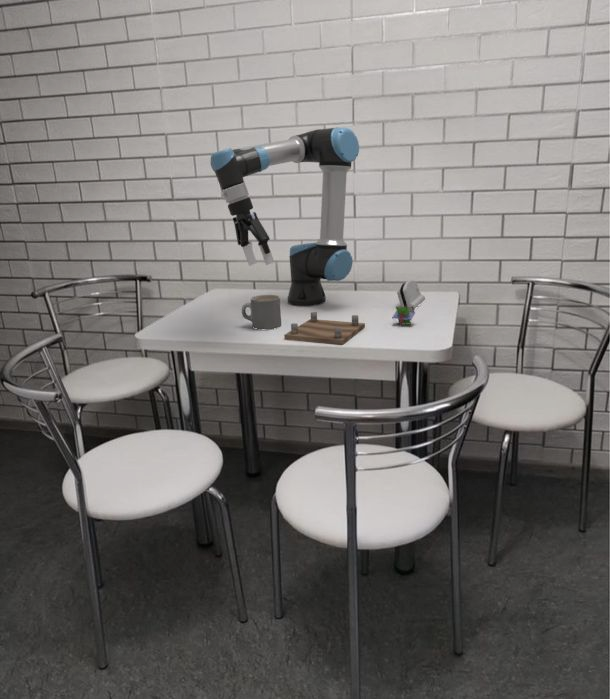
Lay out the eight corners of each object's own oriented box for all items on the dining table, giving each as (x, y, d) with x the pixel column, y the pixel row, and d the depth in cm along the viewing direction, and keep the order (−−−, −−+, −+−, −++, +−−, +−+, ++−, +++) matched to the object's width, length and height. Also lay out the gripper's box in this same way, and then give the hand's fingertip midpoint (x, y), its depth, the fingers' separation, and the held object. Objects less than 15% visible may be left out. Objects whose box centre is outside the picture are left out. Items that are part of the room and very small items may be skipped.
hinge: (415, 310, 221) (406, 284, 219) (403, 313, 223) (394, 288, 222) (426, 300, 235) (417, 275, 234) (414, 303, 238) (406, 279, 236)
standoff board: (310, 323, 210) (310, 310, 209) (364, 327, 202) (364, 314, 201) (284, 339, 193) (283, 325, 192) (342, 344, 185) (342, 330, 184)
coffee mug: (285, 322, 212) (283, 295, 209) (274, 330, 204) (273, 301, 200) (250, 321, 217) (248, 293, 214) (238, 328, 208) (236, 300, 205)
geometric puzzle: (407, 323, 197) (413, 301, 199) (388, 321, 200) (393, 299, 202) (413, 331, 203) (418, 309, 205) (394, 329, 206) (399, 308, 208)
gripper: (214, 208, 199) (237, 268, 205) (242, 199, 178) (267, 267, 184) (233, 200, 202) (255, 260, 208) (264, 191, 180) (288, 258, 186)
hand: (261, 264), depth 196 cm, fingers open, 13 cm apart
